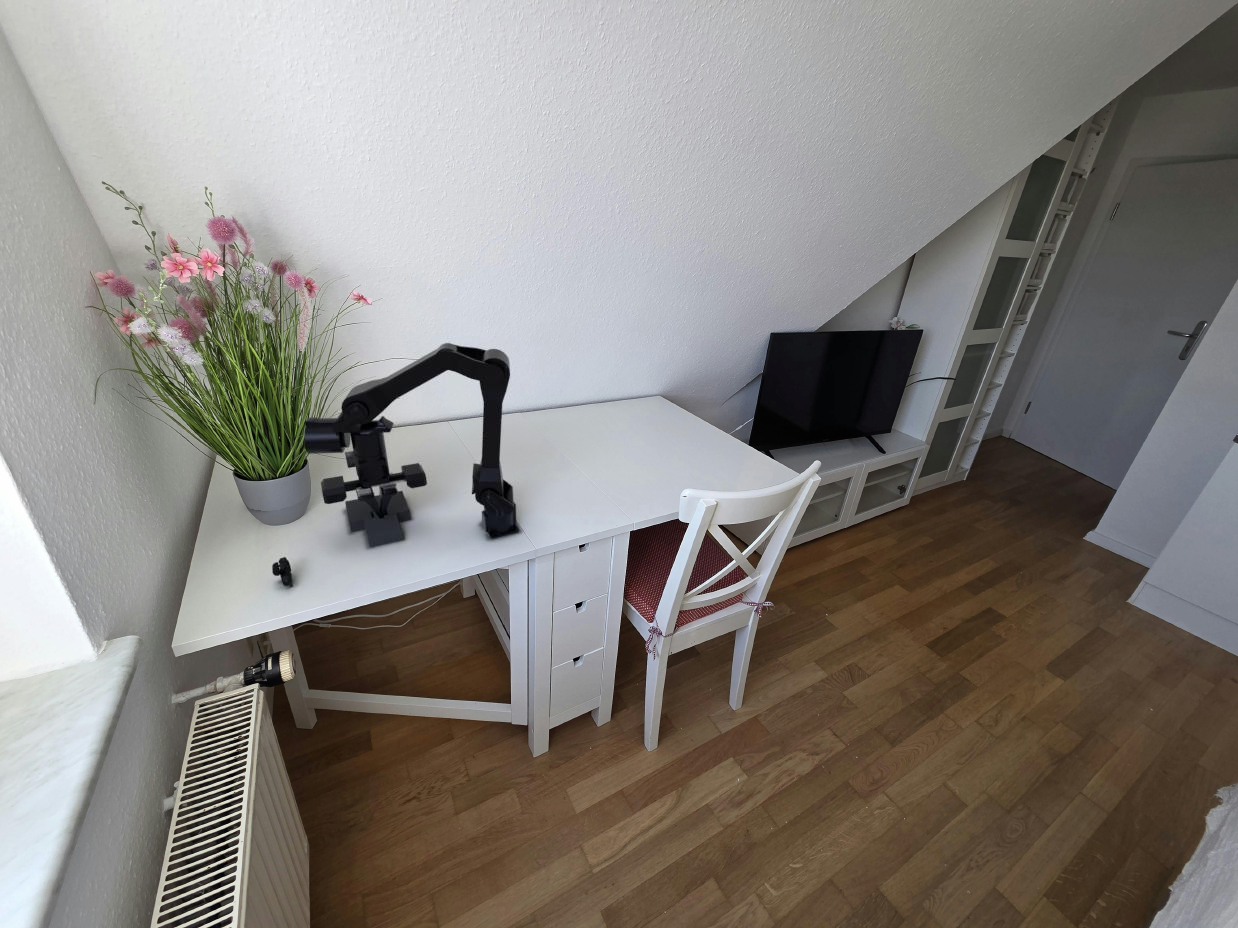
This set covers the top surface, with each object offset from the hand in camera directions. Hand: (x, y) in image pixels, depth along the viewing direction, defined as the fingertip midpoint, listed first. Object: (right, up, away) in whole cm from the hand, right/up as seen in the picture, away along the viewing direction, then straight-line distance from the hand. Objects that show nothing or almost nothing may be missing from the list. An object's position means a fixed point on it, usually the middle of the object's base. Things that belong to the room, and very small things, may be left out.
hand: (381, 517), depth 106 cm
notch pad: (-4, 0, +8) cm, 9 cm away
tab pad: (-1, -3, +3) cm, 4 cm away
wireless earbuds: (-12, -11, -13) cm, 20 cm away
